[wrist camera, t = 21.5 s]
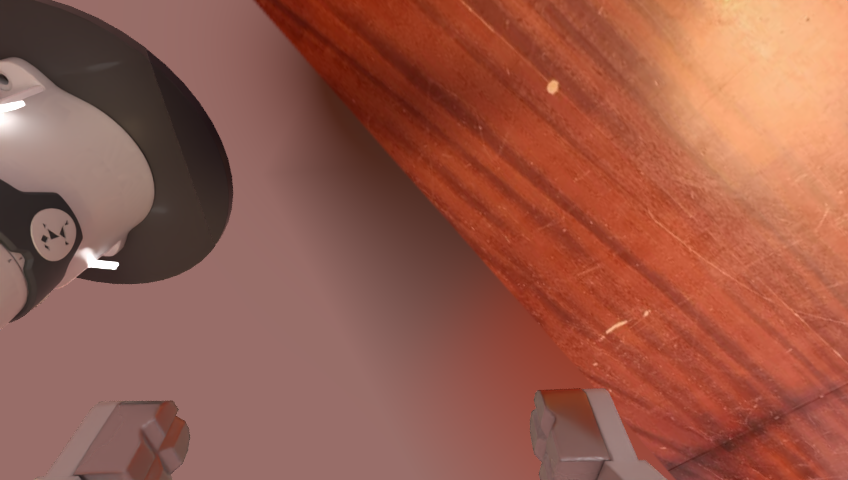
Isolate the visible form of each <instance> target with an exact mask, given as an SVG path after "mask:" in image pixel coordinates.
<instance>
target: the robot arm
mask: <svg viewBox="0 0 848 480" xmlns="http://www.w3.org/2000/svg"><path fill="white" fill-rule="evenodd" d="M3 75H4V76H6V77H7V79H8V81H7V80H6V79H5V78H4V77H3ZM154 193H155V190H154V181H153V176H152V173H151V170H150V167H149V165H148V162H147V160H146V158H145V157H144V155H143V153H142V152H141V150H140V149H139V147H138V146H137V144H136V143H135V142H134V140H133V139H132V138H131V137H130V136H129V135H128V133H127V132H126V131H125V130H124V129H123V128H122V127H121V126H119V125H118V124H117V123H116V122H115V121H114V120H113V119H111V118H110V117H109V116H107V115H106V114H105V113H103V112H102V111H100V110H99V109H97V108H96V107H94V106H92V105H91V104H89V103H87V102H85V101H83V100H81V99H79V98H77V97H75V96H73V95H71V94H69V93H67V92H65V91H64V90H62V89H60V88H59V87H57V86H56V85H55V84H54V83H53V82H52V81H51V80H49V79H48V78H47V77H46V76H45V75H44V74H43V73H41V72H40V71H39V70H38V69H37V68H35V67H34V66H33V65H31V64H30V63H28V62H27V61H25V60H23V59H21V58H17V57H10V58H6V59H2V60H0V330H1V329H2V328H3V327H5V326H6V325H7V324H8V323H10V322H13V321H15V320H18V319H20V318H21V317H23V316H25V315H26V314H27V313H28V312H29V311H30V310H32V309H33V308H34V307H37V305H38V304H41V303H42V302H43V301H44V300H45V299H46V298H47V297H48V296H49V293H50V292H51V291H52V290H53V289H59V288H62V287H64V286H65V285H67V284H68V283H69V282H71V281H72V280H73V279H74V278H76V277H77V276H78V275H79V274H81V273H82V272H83V271H84V270H86V269H87V268H88V267H95V268H106V269H116V268H117V267H118V265H119V264H118V262H109V261H99V260H98V259H99V258H100V257H101V256H114V255H115V254H117V253H118V252H119V251H120V250H121V249H122V248H123V247H124V244H125V242H126V239H127V235H128V233H129V232H130V230H132V229H133V228H134V227H135V226H137V225H138V224H139V223H141V222H142V221H143V220H144V219H145V217H146V216H147V215H148V213H149V212H150V210H151V207H152V205H153V201H154ZM534 402H535V406H536V409H535V410H533V411H532V413H531V419H530V434H531V440H532V445H533V450H534V454H535V455H536V456H537V458H538V459H539V460H540V461H541V462H542V464H541V468H540V472H539V476H540V480H667V479H666V478H665V477H664V476H663V475H661V474H660V473H659V472H658V471H657V470H656V469H655V468H654V467H653V466H651V465H650V464H649V463H648V462H647V461H646V460H638V458H637V456H636V454H635V452H634V449H633V447H632V445H631V442H630V440H629V437H628V435H627V433H626V431H625V428H624V426H623V424H622V421H621V419H620V417H619V414H618V412H617V410H616V407H615V405H614V403H613V400H612V398H611V396H610V394H609V392H608V391H607V390H606V389H604V388H594V389H580V388H579V389H578V388H577V389H554V390H538V391H537V392H536V393H535V398H534ZM177 411H178V408H177V406H176V405H175V403H174V402H173V401H109V402H99V403H98V404H97V405H95V406H94V407H93V408H92V409H91V410H90V411H89V413H88V414H87V416H86V417H85V419H84V420H83V421H82V423H81V424H80V426H79V427H78V429H77V430H76V432H75V433H74V435H73V436H72V438H71V439H70V440H69V442H68V443H67V445H66V446H65V448H64V449H63V451H62V452H61V454H60V455H59V457H58V458H57V460H56V461H55V462H54V464H53V465H52V467H51V468H50V470H49V471H48V473H47V474H46V476H43V477H37V478H35V479H34V480H172V477H171V474H172V473H173V472H174V471H175V470H176V469H177V468H178V467H179V466H180V465H182V463H183V461H184V459H185V456H186V454H187V451H188V446H189V440H190V434H189V428H188V426H187V424H186V422H185V421H184V420H182V419H180V418H179V417H177V416H176V414H177Z"/></svg>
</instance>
